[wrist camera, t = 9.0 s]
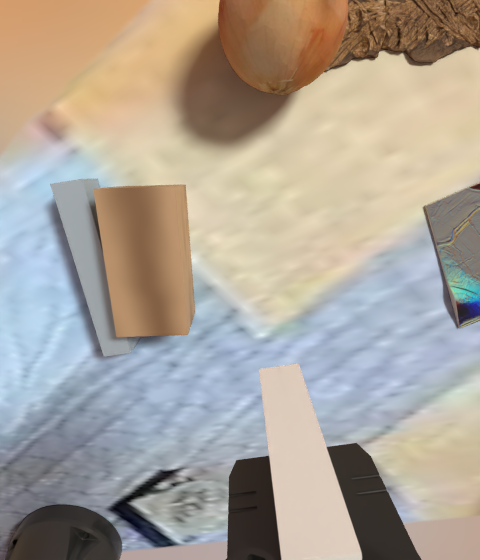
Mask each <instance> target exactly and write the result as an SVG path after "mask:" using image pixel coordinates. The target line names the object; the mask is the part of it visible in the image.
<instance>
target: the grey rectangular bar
mask: <svg viewBox="0 0 480 560" xmlns="http://www.w3.org/2000/svg"><path fill="white" fill-rule="evenodd" d="M50 185H51V188H52V191H53V194H54V198H55V201H56V204H57V207H58V211H59V214H60V217H61V220H62V224H63V227H64V230H65V233H66V236H67V240H68V243H69V246H70V249H71V253H72V256H73V259H74V262H75V266H76V269H77V272H78V275H79V278H80V282H81V285H82V288H83V291H84V295H85V298H86V301H87V304H88V307H89V311H90V314H91V317H92V320H93V324H94V327H95V330H96V333H97V337H98V340H99V343H100V346H101V349H102V353H103V356H104V357H105V356H112V355H119V354H127V353H131V352H132V350H133V349H134V347H135V345H136V344H137V342H138V340H139V339H140V336H135V337H116V331H115V325H114V318H113V312H112V306H111V299H110V293H109V286H108V280H107V274H106V267H105V261H104V255H103V248H102V242H101V236H100V229H99V223H98V216H97V210H96V204H95V197H94V191H93V189H97V188H100V185H99V182H98V179H79V180H73V181H67V182H60V183H54V184H50Z"/></svg>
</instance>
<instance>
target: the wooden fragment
mask: <svg viewBox="0 0 480 560" xmlns="http://www.w3.org/2000/svg"><path fill="white" fill-rule="evenodd" d="M469 45H475V46H476V47H480V0H348V18H347V25H346V29H345V33H344V37H343V40H342V43H341V45H340V48H339V50H338V52H337V54H336V56H335V57H334V59H333V60H332V62H331V63H330V64H329V66H328V67H327V69H326V70H325V71H328V70H329V69H330V68H333V67H334V66H336V65H337V66H339V65H343V64H346V63H347V62H349V61H351V60H352V59H353V58H359V57H361V58H365V57H373V58H377V57H378V53H379V51H380V49H386V50H388V49H389V50H391V51H405V52H406V54H408V55H409V56H410V58H413V60H414V61H418V62H436V61H437V60H438V59H439V58H441V57H442V56H444V55H448V54H450V53H451V52H453V51H455V50H458V49H459V48H461V47H467V46H469Z"/></svg>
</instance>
